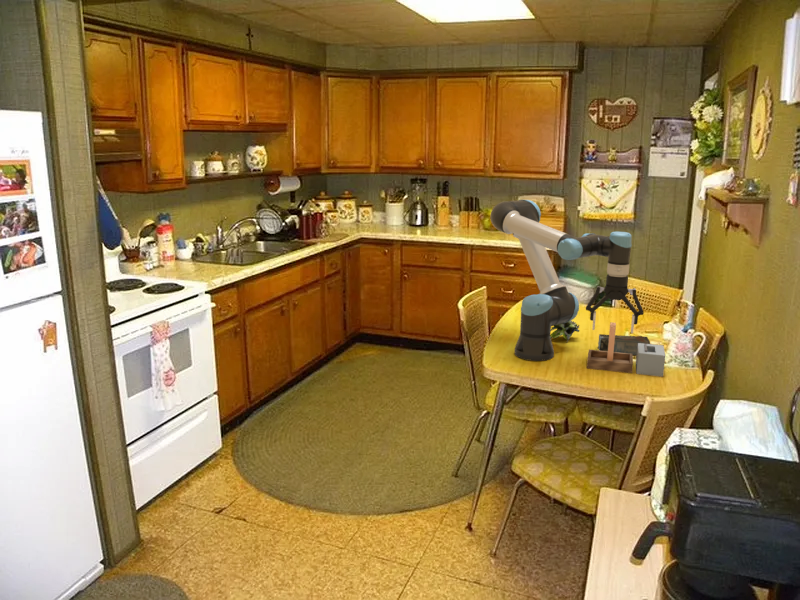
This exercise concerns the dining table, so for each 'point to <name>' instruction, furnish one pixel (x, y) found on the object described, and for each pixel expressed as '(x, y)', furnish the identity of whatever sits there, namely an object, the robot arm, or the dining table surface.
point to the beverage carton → (622, 343)
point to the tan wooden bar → (611, 341)
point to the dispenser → (650, 359)
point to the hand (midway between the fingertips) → (612, 330)
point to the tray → (619, 363)
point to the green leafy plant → (564, 330)
